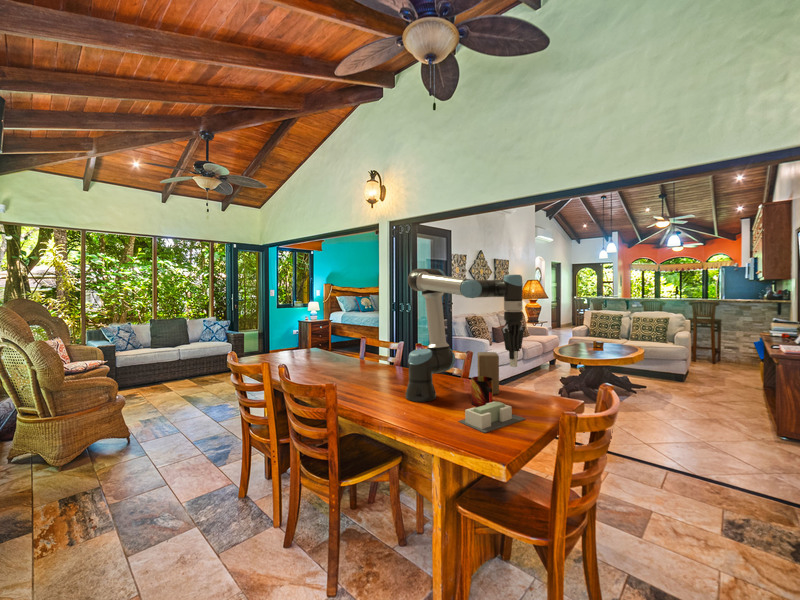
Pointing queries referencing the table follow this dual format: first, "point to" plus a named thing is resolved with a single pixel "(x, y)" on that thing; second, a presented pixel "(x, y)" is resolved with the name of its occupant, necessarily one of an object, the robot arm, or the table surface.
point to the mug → (481, 390)
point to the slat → (491, 410)
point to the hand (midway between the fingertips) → (513, 366)
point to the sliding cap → (504, 412)
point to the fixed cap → (477, 418)
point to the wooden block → (489, 367)
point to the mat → (495, 424)
